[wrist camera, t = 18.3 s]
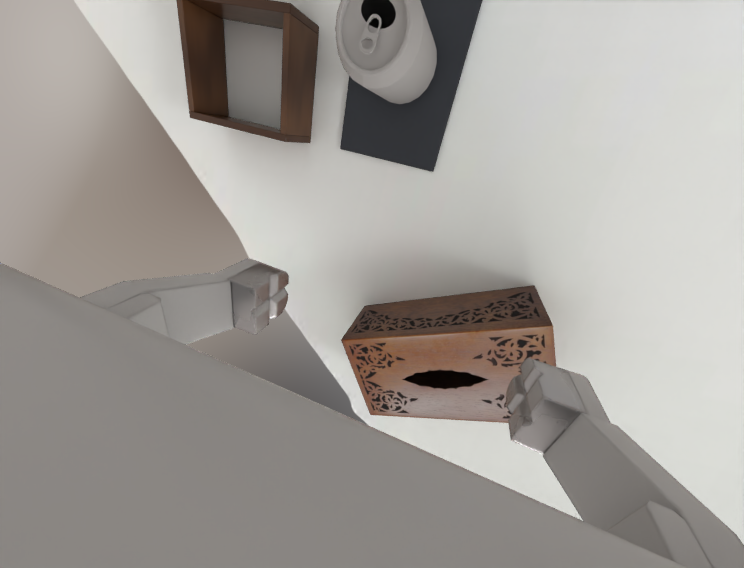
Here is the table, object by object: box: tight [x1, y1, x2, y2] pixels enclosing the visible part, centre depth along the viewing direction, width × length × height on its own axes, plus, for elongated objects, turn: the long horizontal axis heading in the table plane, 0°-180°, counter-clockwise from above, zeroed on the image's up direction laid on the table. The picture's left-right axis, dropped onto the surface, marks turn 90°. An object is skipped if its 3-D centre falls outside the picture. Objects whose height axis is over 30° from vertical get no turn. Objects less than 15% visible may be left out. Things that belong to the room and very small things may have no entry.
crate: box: [177, 0, 319, 143], centre depth 34 cm, size 13×15×6 cm
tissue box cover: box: [341, 286, 556, 423], centre depth 40 cm, size 26×14×10 cm, turn 108°
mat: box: [340, 0, 482, 172], centre depth 31 cm, size 20×13×1 cm, turn 168°
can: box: [336, 0, 437, 104], centre depth 26 cm, size 8×8×12 cm
